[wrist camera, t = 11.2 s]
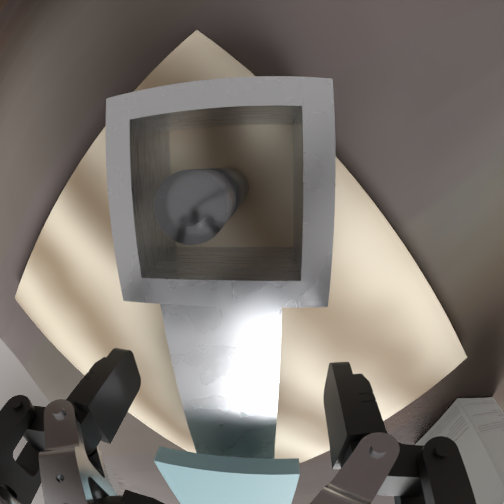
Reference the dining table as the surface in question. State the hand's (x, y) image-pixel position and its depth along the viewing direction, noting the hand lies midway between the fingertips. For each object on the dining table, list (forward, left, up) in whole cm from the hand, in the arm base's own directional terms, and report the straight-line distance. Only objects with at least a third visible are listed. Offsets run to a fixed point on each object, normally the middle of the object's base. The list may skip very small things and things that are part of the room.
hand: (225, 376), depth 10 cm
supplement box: (-5, +25, -6) cm, 26 cm away
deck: (+2, +1, -6) cm, 6 cm away
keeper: (+6, +6, -6) cm, 10 cm away
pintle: (-4, -5, -6) cm, 9 cm away
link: (-1, -1, -4) cm, 4 cm away
